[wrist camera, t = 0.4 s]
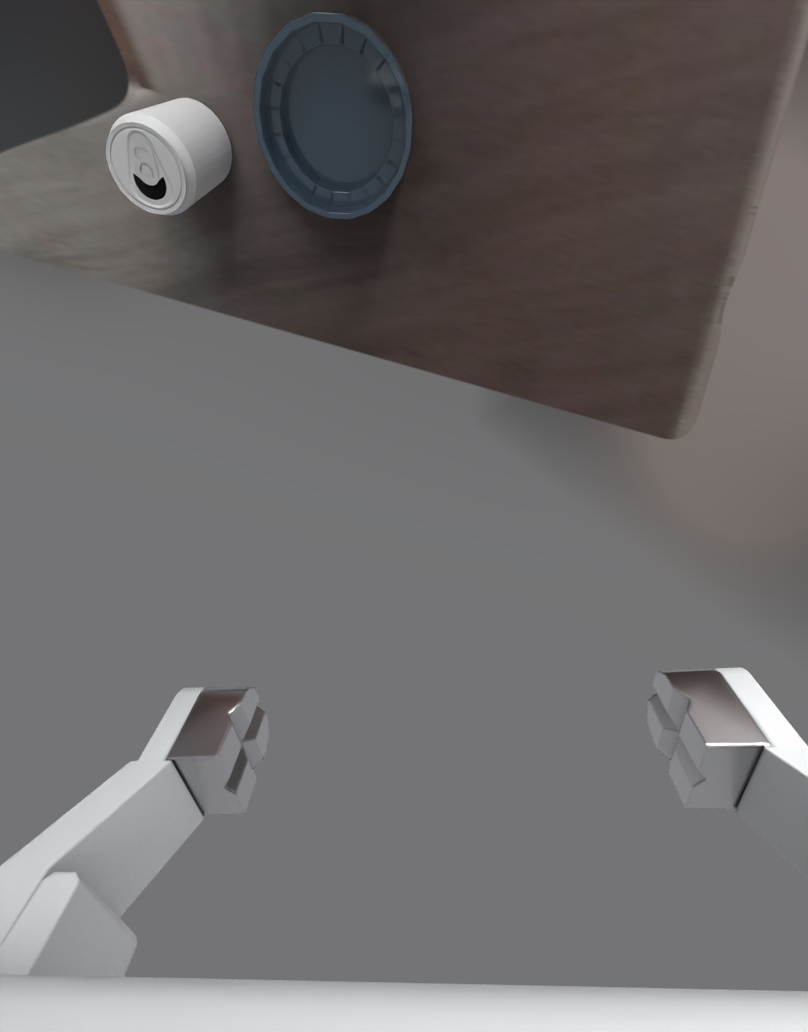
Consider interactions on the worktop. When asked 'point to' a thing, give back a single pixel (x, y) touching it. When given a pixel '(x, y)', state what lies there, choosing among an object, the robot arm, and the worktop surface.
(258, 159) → the worktop surface
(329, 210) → the bowl
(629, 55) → the worktop surface
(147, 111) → the beverage can
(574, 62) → the worktop surface
